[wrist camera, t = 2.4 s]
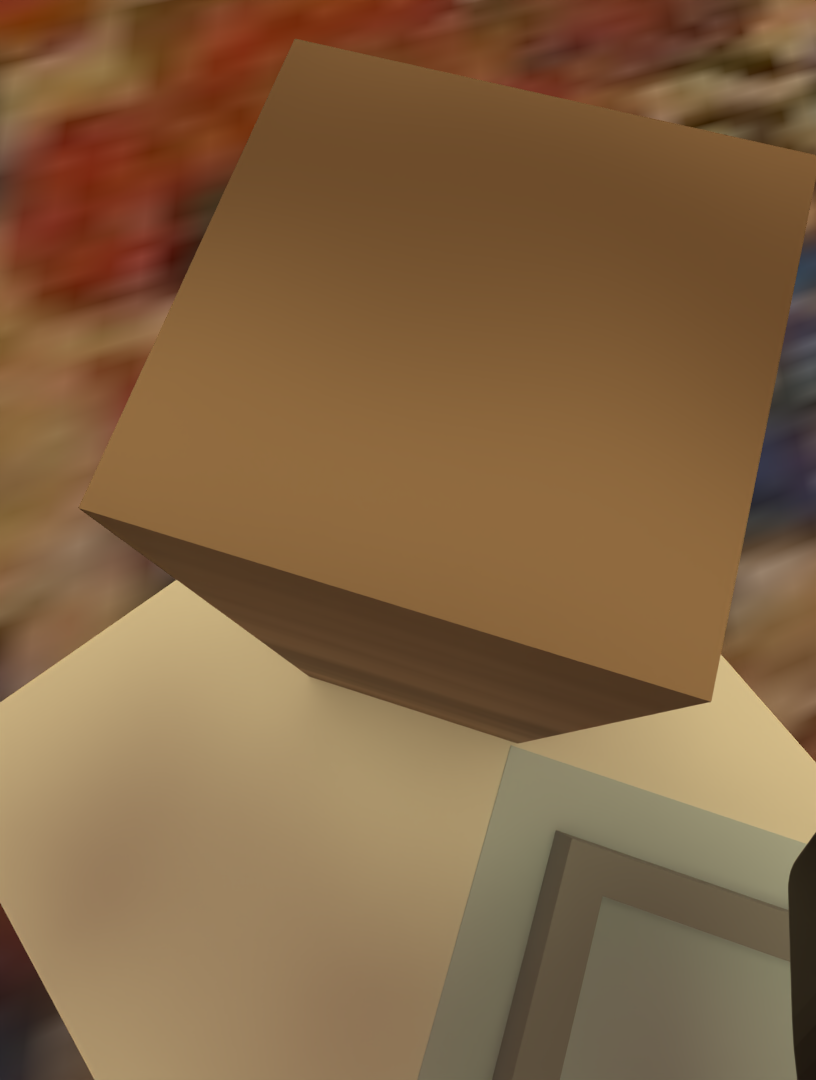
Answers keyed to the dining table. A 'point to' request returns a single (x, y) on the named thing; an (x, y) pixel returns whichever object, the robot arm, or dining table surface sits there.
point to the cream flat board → (391, 874)
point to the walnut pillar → (468, 394)
